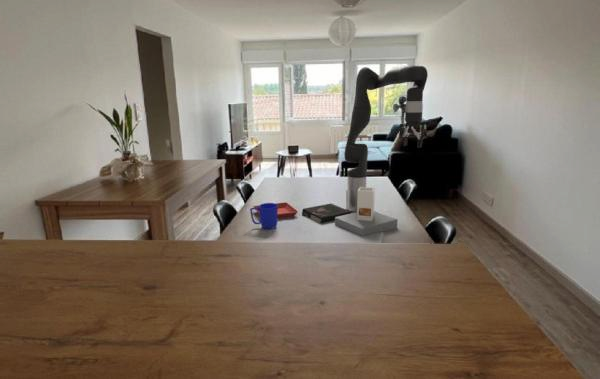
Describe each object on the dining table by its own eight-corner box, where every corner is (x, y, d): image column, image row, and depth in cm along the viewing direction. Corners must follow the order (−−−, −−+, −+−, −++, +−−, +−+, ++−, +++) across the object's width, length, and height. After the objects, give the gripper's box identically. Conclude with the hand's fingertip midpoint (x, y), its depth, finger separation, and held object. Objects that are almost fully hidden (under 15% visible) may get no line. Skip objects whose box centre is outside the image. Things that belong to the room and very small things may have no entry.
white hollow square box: (357, 219, 161) (357, 190, 158) (359, 215, 167) (359, 187, 164) (372, 221, 159) (372, 191, 156) (373, 216, 165) (374, 187, 162)
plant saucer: (286, 207, 196) (286, 201, 195) (298, 217, 179) (298, 211, 179) (253, 212, 190) (252, 205, 189) (262, 222, 173) (261, 216, 172)
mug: (251, 224, 170) (250, 203, 167) (278, 223, 171) (277, 202, 168) (250, 231, 162) (249, 209, 159) (278, 229, 163) (277, 207, 160)
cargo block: (360, 217, 161) (360, 208, 160) (361, 214, 165) (361, 205, 164) (369, 217, 160) (369, 208, 159) (370, 214, 164) (370, 206, 163)
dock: (334, 225, 166) (334, 217, 165) (368, 217, 176) (368, 209, 175) (362, 238, 151) (362, 228, 150) (397, 228, 162) (397, 219, 161)
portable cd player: (301, 216, 181) (301, 209, 180) (331, 211, 189) (331, 203, 188) (320, 226, 167) (320, 218, 166) (350, 219, 175) (350, 211, 174)
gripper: (432, 111, 168) (429, 147, 172) (407, 110, 180) (405, 144, 184) (420, 112, 164) (418, 148, 168) (396, 111, 176) (395, 145, 180)
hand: (412, 146), depth 176 cm, fingers open, 8 cm apart
